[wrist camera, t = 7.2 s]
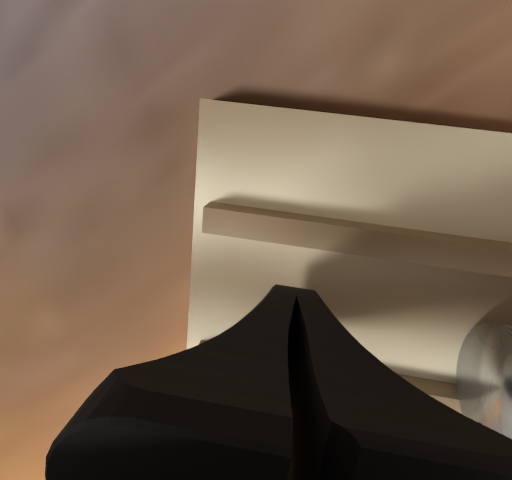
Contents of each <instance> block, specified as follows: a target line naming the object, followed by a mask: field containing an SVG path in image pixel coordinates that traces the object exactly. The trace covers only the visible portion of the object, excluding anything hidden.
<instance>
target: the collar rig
mask: <svg viewBox="0 0 512 480" xmlns="http://www.w3.org/2000/svg"><path fill="white" fill-rule="evenodd" d="M276 284H278V285H284V286H290V287H297V288H303V289H310V290H315V291H316V292H317V293H318V295H319V296H320V297H321V299H322V300H323V301H324V303H325V304H326V305H327V307H328V308H329V309H330V311H331V312H332V313H333V314H334V316H335V317H336V318H337V319H338V320H339V322H340V323H341V324H342V325H343V326H344V327H345V328H346V329H347V330H348V331H349V333H350V334H351V335H352V336H353V337H354V338H355V339H356V340H357V341H358V342H359V343H360V344H361V345H362V346H364V347H365V348H366V349H367V350H368V351H369V352H370V353H372V354H373V355H374V356H375V357H376V358H377V359H379V360H380V361H381V362H382V363H383V364H385V365H386V366H387V367H389V368H390V369H391V370H393V371H394V372H395V373H397V374H398V375H400V376H401V377H402V378H404V379H405V380H407V381H408V382H410V383H411V384H412V385H414V386H415V387H417V388H419V389H420V390H422V391H423V392H425V393H426V394H428V395H430V396H431V397H433V398H435V399H436V400H438V401H440V402H442V403H443V404H445V405H447V406H448V407H450V408H452V409H454V410H455V411H457V412H459V413H461V414H462V411H461V408H460V404H459V400H458V394H457V385H456V369H457V361H458V356H459V352H460V349H461V346H462V343H463V341H464V339H465V337H466V336H467V334H468V333H469V332H470V331H471V330H472V329H473V328H474V327H475V326H477V325H479V324H481V323H486V322H490V323H496V324H503V325H509V326H512V133H505V132H496V131H487V130H478V129H469V128H460V127H451V126H442V125H433V124H424V123H415V122H406V121H397V120H388V119H379V118H370V117H362V116H353V115H344V114H335V113H326V112H317V111H308V110H299V109H290V108H281V107H272V106H263V105H254V104H245V103H236V102H227V101H218V100H209V99H200V109H199V128H198V147H197V166H196V185H195V204H194V223H193V242H192V261H191V280H190V299H189V318H188V337H187V349H190V348H192V347H195V346H197V345H199V344H201V343H203V342H205V341H207V340H209V339H211V338H213V337H215V336H218V335H219V334H221V333H222V332H224V331H226V330H227V329H229V328H230V327H232V326H233V325H234V324H236V323H237V322H238V321H240V320H241V319H242V318H243V317H244V316H246V315H247V314H248V313H249V312H250V311H251V310H253V309H254V308H255V307H256V306H257V305H258V304H259V303H260V302H261V301H262V299H263V298H264V297H265V296H266V295H267V294H268V292H269V291H270V290H271V288H272V287H273V286H274V285H276Z"/></svg>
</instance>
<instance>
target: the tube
mask: <svg viewBox="0 0 512 480" xmlns="http://www.w3.org/2000/svg"><path fill="white" fill-rule="evenodd" d="M456 385H457V394H458V400H459V404H460V408H461V411H462V414H463V415H464V416H466V417H468V418H470V419H472V420H474V421H476V422H478V423H480V424H482V425H484V426H486V427H488V428H490V429H493V430H495V431H497V432H499V433H501V434H503V435H505V436H507V437H509V438H511V439H512V326H509V325H503V324H496V323H490V322H486V323H481V324H479V325H477V326H475V327H474V328H473V329H472V330H471V331H470V332H469V333H468V334H467V336H466V337H465V339H464V341H463V343H462V346H461V349H460V352H459V356H458V361H457V369H456Z"/></svg>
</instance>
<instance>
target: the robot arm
mask: <svg viewBox="0 0 512 480" xmlns="http://www.w3.org/2000/svg"><path fill="white" fill-rule="evenodd" d="M45 478H46V480H512V439H511V438H509V437H507V436H505V435H503V434H501V433H499V432H497V431H495V430H493V429H490V428H488V427H486V426H484V425H482V424H480V423H478V422H476V421H474V420H472V419H470V418H468V417H466V416H464V415H463V414H461V413H459V412H457V411H455V410H454V409H452V408H450V407H448V406H447V405H445V404H443V403H442V402H440V401H438V400H436V399H435V398H433V397H431V396H430V395H428V394H426V393H425V392H423V391H422V390H420V389H419V388H417V387H415V386H414V385H412V384H411V383H410V382H408V381H407V380H405V379H404V378H402V377H401V376H400V375H398V374H397V373H395V372H394V371H393V370H391V369H390V368H389V367H387V366H386V365H385V364H383V363H382V362H381V361H380V360H379V359H377V358H376V357H375V356H374V355H373V354H372V353H370V352H369V351H368V350H367V349H366V348H365V347H364V346H362V345H361V344H360V343H359V342H358V341H357V340H356V339H355V338H354V337H353V336H352V335H351V334H350V333H349V331H348V330H347V329H346V328H345V327H344V326H343V325H342V324H341V323H340V322H339V320H338V319H337V318H336V317H335V316H334V314H333V313H332V312H331V311H330V309H329V308H328V307H327V305H326V304H325V303H324V301H323V300H322V299H321V297H320V296H319V295H318V293H317V292H316V291H315V290H310V289H303V288H297V287H290V286H284V285H278V284H276V285H274V286H273V287H272V288H271V290H270V291H269V292H268V294H267V295H266V296H265V297H264V298H263V299H262V301H261V302H260V303H259V304H258V305H257V306H256V307H255V308H254V309H253V310H251V311H250V312H249V313H248V314H247V315H246V316H244V317H243V318H242V319H241V320H240V321H238V322H237V323H236V324H234V325H233V326H232V327H230V328H229V329H227V330H226V331H224V332H222V333H221V334H219V335H218V336H215V337H213V338H211V339H209V340H207V341H205V342H203V343H201V344H199V345H197V346H195V347H192V348H190V349H187V350H184V351H182V352H179V353H176V354H173V355H170V356H167V357H164V358H160V359H157V360H153V361H149V362H145V363H140V364H136V365H132V366H128V367H123V368H118V369H114V370H113V371H112V372H111V373H110V375H109V376H108V377H107V378H106V379H105V380H104V381H103V382H102V383H101V384H100V385H99V386H98V387H97V388H96V389H95V390H94V391H93V392H92V394H91V395H90V396H89V397H88V398H87V399H86V400H85V402H84V403H83V404H82V406H81V407H80V408H79V409H78V411H77V412H76V413H75V414H74V416H73V417H72V418H71V419H70V421H69V422H68V423H67V425H66V426H65V427H64V428H63V430H62V431H61V432H60V433H59V435H58V436H57V437H56V438H55V440H54V441H53V443H52V445H51V447H50V450H49V452H48V454H47V456H46V468H45Z"/></svg>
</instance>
